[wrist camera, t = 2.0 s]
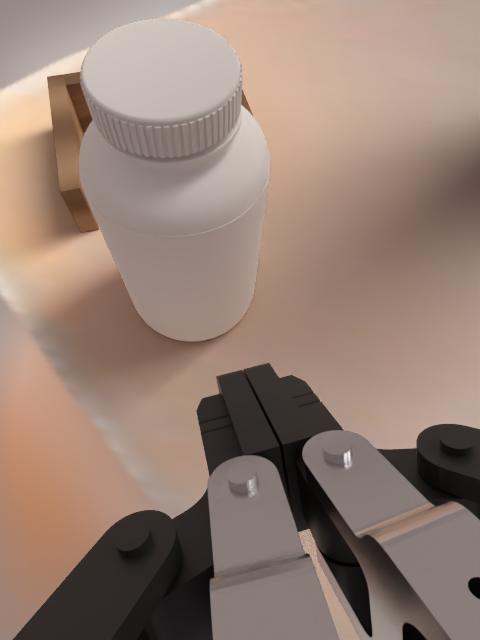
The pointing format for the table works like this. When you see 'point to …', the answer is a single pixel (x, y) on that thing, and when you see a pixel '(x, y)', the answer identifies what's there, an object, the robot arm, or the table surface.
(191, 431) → the table surface
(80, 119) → the holder
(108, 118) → the pill bottle
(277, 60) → the table surface
